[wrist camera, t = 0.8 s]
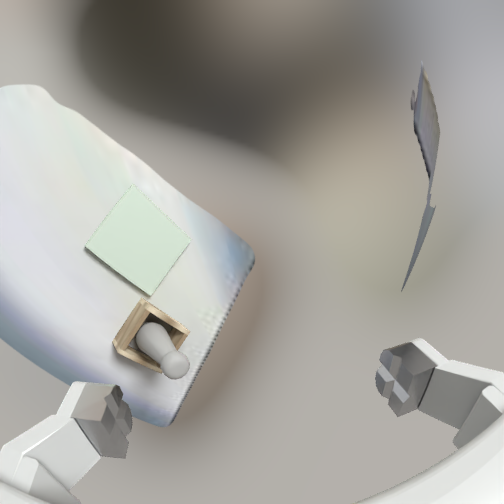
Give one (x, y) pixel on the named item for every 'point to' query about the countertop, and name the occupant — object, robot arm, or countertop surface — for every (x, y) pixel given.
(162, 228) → the sage mat
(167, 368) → the salt shaker
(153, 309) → the wooden box
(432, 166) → the countertop surface
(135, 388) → the countertop surface
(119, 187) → the countertop surface
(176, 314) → the countertop surface
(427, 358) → the robot arm
